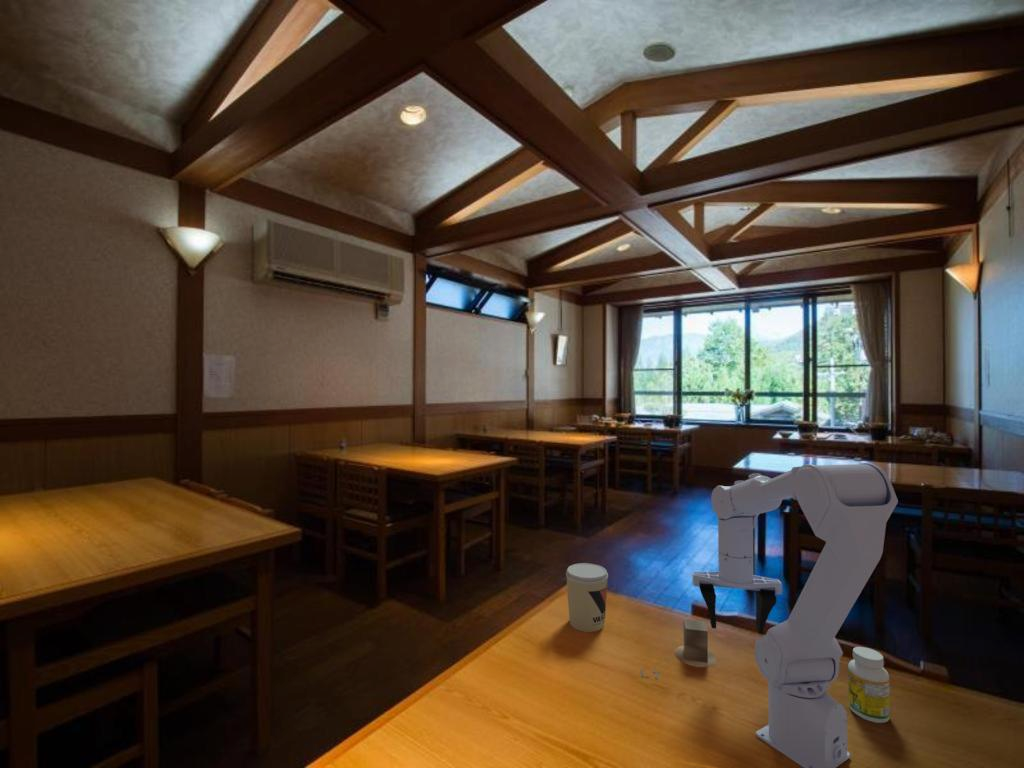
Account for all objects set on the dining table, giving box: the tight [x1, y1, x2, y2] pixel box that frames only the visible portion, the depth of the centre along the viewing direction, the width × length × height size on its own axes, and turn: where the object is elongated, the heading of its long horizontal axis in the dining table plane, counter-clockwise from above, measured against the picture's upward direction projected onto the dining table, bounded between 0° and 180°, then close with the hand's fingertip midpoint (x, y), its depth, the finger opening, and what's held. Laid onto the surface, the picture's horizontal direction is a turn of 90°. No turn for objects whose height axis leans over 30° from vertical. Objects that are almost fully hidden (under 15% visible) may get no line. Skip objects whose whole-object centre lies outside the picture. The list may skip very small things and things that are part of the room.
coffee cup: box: [565, 562, 609, 633], centre depth 107 cm, size 9×9×12 cm
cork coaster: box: [674, 644, 717, 668], centre depth 94 cm, size 8×8×1 cm
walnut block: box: [683, 618, 709, 663], centre depth 94 cm, size 4×4×6 cm
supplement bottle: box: [847, 646, 891, 724], centre depth 78 cm, size 5×5×10 cm
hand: (736, 628), depth 86 cm, fingers open, 7 cm apart
